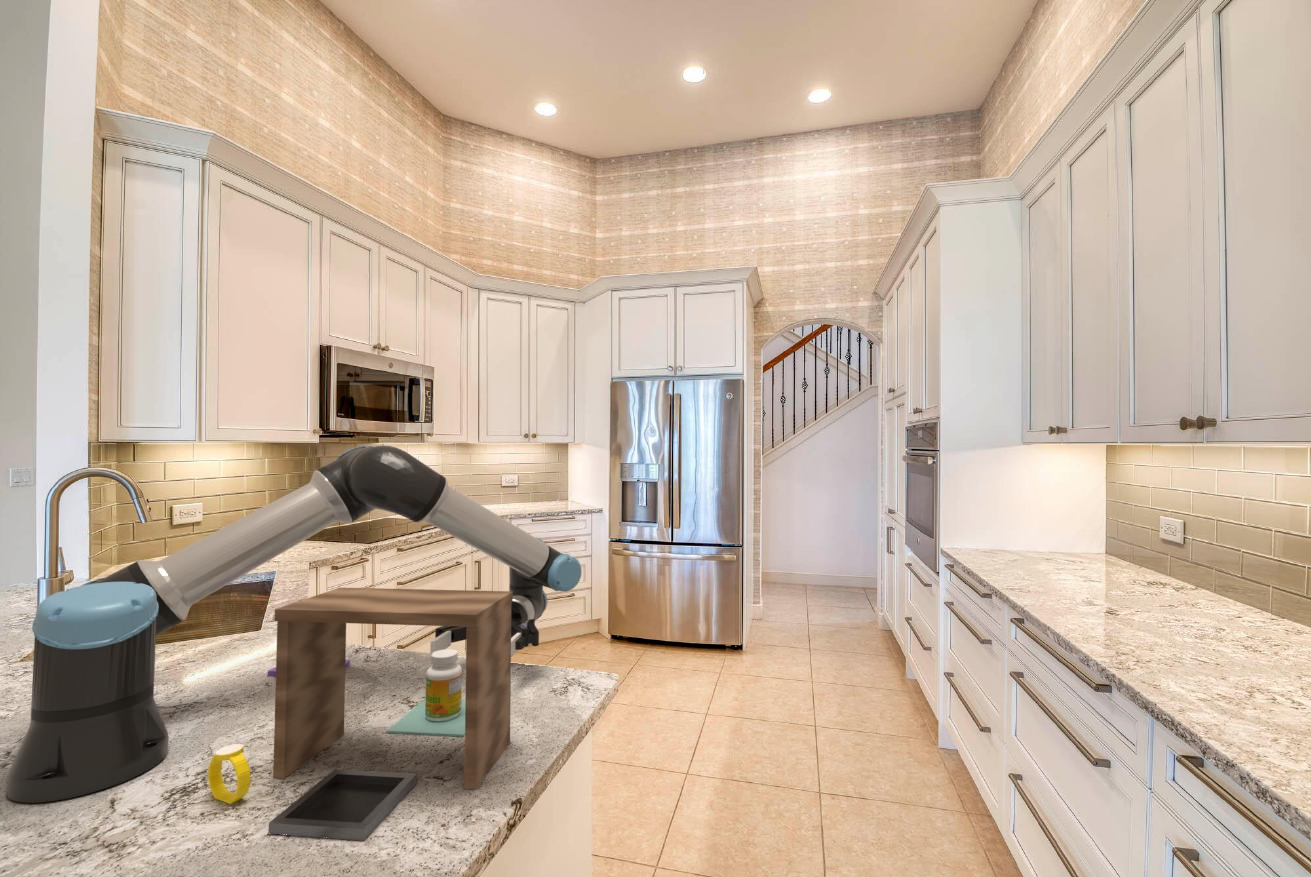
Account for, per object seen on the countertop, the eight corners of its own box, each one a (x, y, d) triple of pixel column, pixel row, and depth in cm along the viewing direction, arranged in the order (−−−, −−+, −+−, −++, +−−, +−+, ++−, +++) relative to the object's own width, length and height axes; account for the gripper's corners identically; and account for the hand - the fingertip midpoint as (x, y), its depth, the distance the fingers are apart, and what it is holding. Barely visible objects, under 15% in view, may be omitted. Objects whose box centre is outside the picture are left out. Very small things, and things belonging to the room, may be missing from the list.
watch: (201, 802, 69) (200, 750, 69) (226, 790, 72) (225, 740, 72) (232, 810, 67) (231, 757, 67) (257, 797, 69) (256, 746, 70)
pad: (425, 699, 98) (425, 698, 98) (494, 702, 97) (494, 701, 97) (386, 732, 86) (386, 730, 86) (463, 736, 85) (463, 734, 85)
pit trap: (334, 778, 73) (334, 769, 74) (416, 783, 72) (416, 773, 72) (268, 834, 63) (268, 822, 63) (363, 840, 61) (364, 829, 61)
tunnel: (336, 732, 86) (339, 587, 87) (511, 740, 84) (512, 591, 84) (270, 779, 73) (274, 609, 74) (474, 791, 71) (476, 614, 71)
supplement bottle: (417, 718, 90) (418, 655, 91) (444, 705, 95) (445, 645, 95) (441, 725, 88) (443, 660, 88) (468, 711, 92) (469, 650, 93)
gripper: (568, 637, 121) (538, 674, 100) (454, 634, 123) (401, 669, 102) (568, 601, 121) (538, 630, 100) (455, 598, 124) (402, 626, 103)
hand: (469, 650), depth 101 cm, fingers open, 13 cm apart
